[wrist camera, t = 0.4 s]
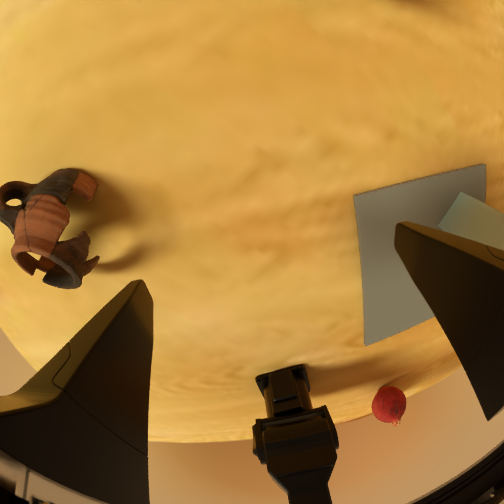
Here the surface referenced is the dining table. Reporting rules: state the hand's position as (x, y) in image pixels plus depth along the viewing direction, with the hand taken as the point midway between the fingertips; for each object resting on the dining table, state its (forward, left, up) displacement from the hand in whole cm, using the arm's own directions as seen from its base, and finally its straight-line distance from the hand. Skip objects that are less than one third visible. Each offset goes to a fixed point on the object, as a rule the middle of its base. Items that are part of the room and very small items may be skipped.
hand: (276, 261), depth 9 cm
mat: (-14, -18, -15) cm, 27 cm away
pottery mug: (+3, +17, -15) cm, 23 cm away
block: (-10, -22, -14) cm, 28 cm away
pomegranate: (-38, -12, -15) cm, 43 cm away
